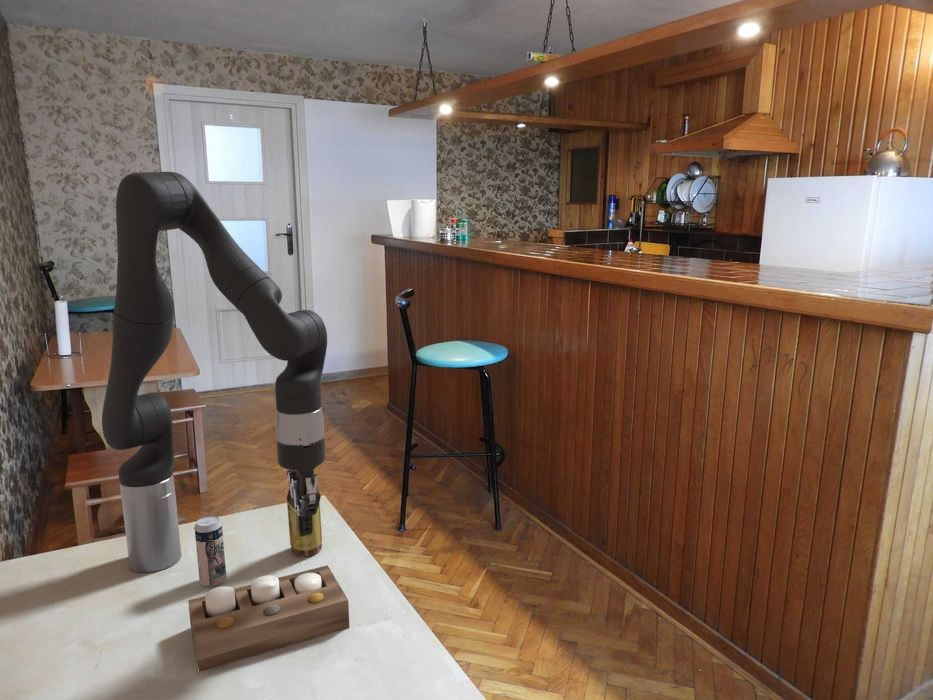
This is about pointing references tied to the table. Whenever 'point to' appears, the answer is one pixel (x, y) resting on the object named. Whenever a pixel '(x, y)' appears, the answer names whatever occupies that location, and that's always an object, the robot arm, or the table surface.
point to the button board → (267, 621)
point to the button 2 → (265, 590)
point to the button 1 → (220, 601)
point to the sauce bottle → (308, 542)
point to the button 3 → (307, 583)
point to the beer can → (210, 551)
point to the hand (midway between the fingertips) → (305, 533)
